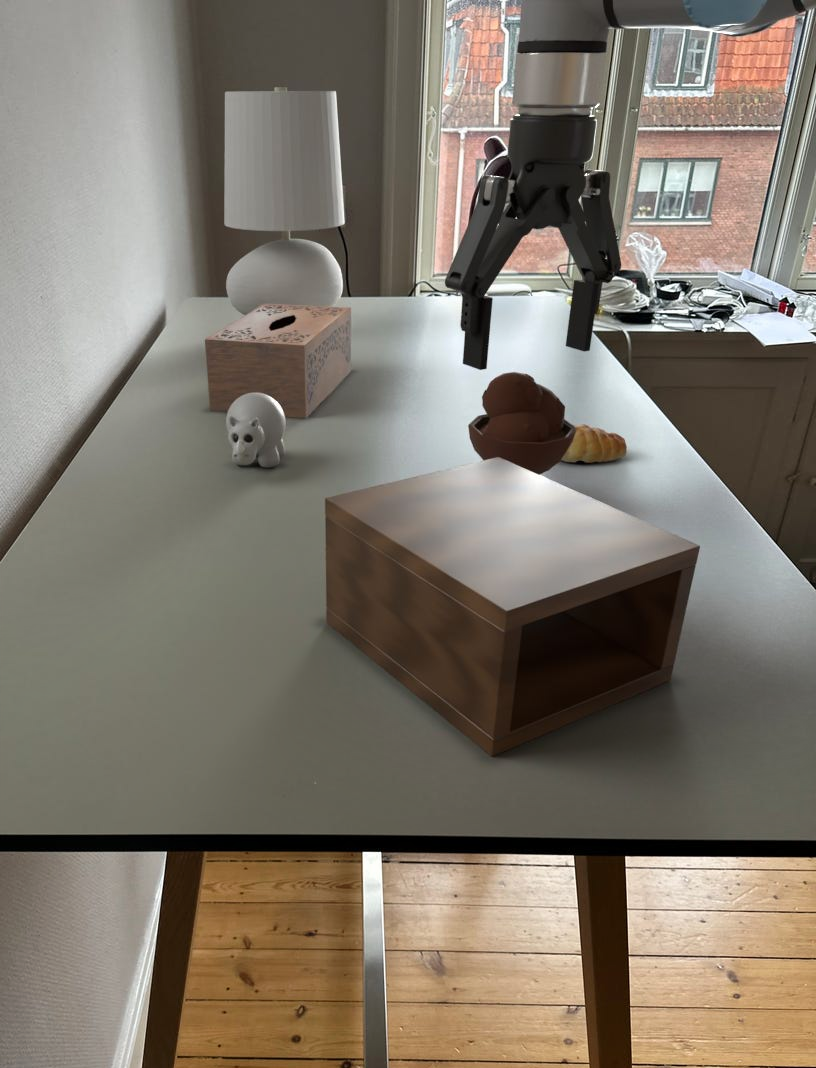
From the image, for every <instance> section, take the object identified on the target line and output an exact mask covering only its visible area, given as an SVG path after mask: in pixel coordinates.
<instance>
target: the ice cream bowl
mask: <svg viewBox="0 0 816 1068" xmlns="http://www.w3.org/2000/svg"><path fill="white" fill-rule="evenodd" d="M481 399H482V400H481V401H482V402H481V403H482V405H481V407H482V408H483V409H484V412H485V414H481V415H477V416H476V417H474V419H473V420H472V421H471V422H469V424H468V426H467V427H468V435H469V440H470V442H471V445H472V448H473V451H475V452H476V454H477V455H478V456H479V457H480V458H481V460H482V461H483V460H487V459H491V458H495V457H500V458H502V459H504V460H506V461H509V462H511V463H513V464H516V465H518V466H520V467H522V468H525V469H527V470H529V471H531V472H534V473H536V474H538V475H542V474H545V473H546V472H548V471H550V470H551V469H552V468H554V467H555V466H556V465H558V464H559V463H560V462H561V461H562V460H561V459H562V458H563V456H564V455H565V453H566V452H567V450H568V448H569V447H570V445H571V444H572V442H573V439H574V436H575V433H576V430H577V428H576V427H575V426H576V425H574V424H572V423H570V422H569V421H568V420H567V419H566V418H565V415H566V414H565V413H566V405H564V403H563V402H562V401H561V400H560V398H559V397H558V396H557V395H556V394H555V393H554V392H553V391H552V390H551V389H549V388H547V387H546V386H543V385H542V384H540V383H537V382H536V381H535V379H534V377H533V376H531V375H530V374H528V373H522V372H517V371H511V372H503V373H502V374H501V373H500V375H497V376H496V377H494V378H493V379H492V380H491V381H489V384H488V385H487V388H486V389H485V390H484V391H483V394H482V395H481ZM573 425H574V426H573Z"/></svg>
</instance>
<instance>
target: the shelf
mask: <svg viewBox="0 0 816 1068" xmlns="http://www.w3.org/2000/svg"><path fill="white" fill-rule="evenodd" d="M324 515H325V516H324V517H325V519H324V521H325V523H324V524H325V527H324V528H325V596H326V597H325V598H326V604H325V606H326V608H325V609H326V610H325V611H326V612H325V613H326V624H328V625H329V626H330V627H331V628H333V629H334V630H335V631H336V632H337V633H339V634H340V635H341V636H343V637H344V639H346V640H347V641H348V642H350V643H351V644H352V645H353V646H355V647H356V648H357V649H359V650H360V651H361V652H362V653H363V654H365V655H366V656H367V657H368V658H369V659H371V660H372V661H373V662H375V663H376V664H377V665H378V666H379V667H381V668H382V669H383V670H384V671H385V672H387V673H388V674H389V675H390V676H392V677H393V678H394V679H396V681H397V682H399V683H400V684H402V685H403V686H404V687H406V689H408V690H409V691H410V692H411V693H412V694H414V695H415V696H417V697H418V698H419V699H420V700H421V701H422V702H424V703H425V704H426V705H427V706H429V707H430V708H431V709H432V710H433V711H435V712H436V713H437V714H439V715H440V716H441V717H442V718H444V720H446V721H447V722H449V723H450V725H452V726H453V727H454V728H456V729H457V730H458V731H459V732H461V733H462V734H463V735H464V736H465V737H467V738H468V739H469V740H471V741H472V742H473V743H474V744H475V745H477V746H478V747H479V748H480V749H482V750H483V751H484V752H486V753H487V754H488V755H489V756H490V757H495V756H497V755H499V754H501V753H503V752H505V751H508V750H511V749H513V748H515V747H518V746H520V745H523V744H524V743H527V742H530V741H531V740H534V739H537V738H539V737H541V736H543V735H546V734H548V733H552V732H553V731H554V730H557V729H560V728H562V727H565V726H567V725H570V724H572V723H574V722H577V721H579V720H581V719H583V718H585V717H588V716H590V715H593V714H595V713H597V712H600V711H602V710H604V709H607V708H609V707H611V706H614V705H616V704H618V703H621V702H623V701H625V700H627V699H630V698H632V697H635V696H637V695H639V694H642V693H644V692H646V691H648V690H651V689H653V688H656V687H658V686H661V685H663V684H665V683H667V682H669V681H671V680H672V677H673V671H674V667H675V662H676V657H677V652H678V648H679V643H680V640H681V635H682V630H683V625H684V620H685V617H686V612H687V608H688V604H689V597H690V594H691V588H692V585H693V581H694V575H695V571H696V565H697V563H698V558H699V553H700V549H701V545H699V544H697V543H695V542H692V541H691V540H688V539H686V538H684V537H681V536H680V535H677V534H675V533H673V532H670V531H667V530H665V529H664V528H661V527H659V526H656V525H654V524H652V523H650V522H647V521H645V520H642V519H640V518H639V517H636V516H634V515H631V514H629V513H627V512H624V511H623V510H620V509H617V508H615V507H613V506H611V505H609V504H607V503H605V502H602V501H600V500H597V499H595V498H592V497H591V496H588V495H586V494H583V493H581V492H579V491H577V490H575V489H573V488H570V487H568V486H565V485H563V484H561V483H559V482H556V481H554V480H552V479H549V478H547V477H546V476H543V475H542V474H540V475H538V474H536V473H534V472H531V471H529V470H527V469H525V468H522V467H520V466H518V465H516V464H513V463H511V462H509V461H506V460H504V459H502V458H500V457H495V458H491V459H487V460H483V459H482V460H479V461H475V462H471V463H470V462H469V463H466V464H462V465H458V466H454V467H450V468H446V469H441V470H437V471H434V472H429V473H424V474H422V475H421V474H420V475H416V476H412V477H407V478H404V479H400V480H395V481H391V482H387V483H381V484H378V485H375V486H370V487H365V488H362V489H358V490H354V491H349V492H344V493H341V494H336V495H332V496H329V497H328V496H327V497H325V498H324Z"/></svg>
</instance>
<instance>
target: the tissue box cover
mask: <svg viewBox="0 0 816 1068" xmlns="http://www.w3.org/2000/svg"><path fill="white" fill-rule="evenodd" d="M204 349H205V360H206V361H205V362H206V372H207V373H206V375H207V387H208V400H209V411H210V412H222V413H228V410H229V408H230V406H231V405H232V404H233V402H234V401H235V400H236V399H238V398H239V397H241V396H242V395H245V394H248V393H263V394H266V395H268V396H270V397H272V398H273V399H274V400H275V401H277V403H278V404H279V405H280V406H281V408H282V410H283V412H284V415H285V418H299V419H307V418H309V416H310V415H311V414H312V413H313V412H314V411H315V410H316V409H317V408H318V407H319V406H320V404H322V402H323V401H325V400H326V398H327V397H328V396H329V395H330V394H331V393H332V392H333V391H334V390H335V389H336V388H337V387H338V386H339V384H340V383H341V382H342V381H344V379H345V378H346V377H347V376H348V375H349V374H350V373H351V372H352V307H344V306H343V307H341V306H333V307H325V306H305V305H284V304H263V305H261V306H260V307H258V308H256V309H255V310H253V311H251V312H250V313H248V314H246V315H243V316H241V317H239V318H238V319H236V320H235V321H233V322H231V323H230V324H228V325H226V326H225V327H223V328H222V329H219V330H218V331H216V332H215V333H213V334H212V335H209V336H208V337H206V338H205V339H204Z"/></svg>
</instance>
